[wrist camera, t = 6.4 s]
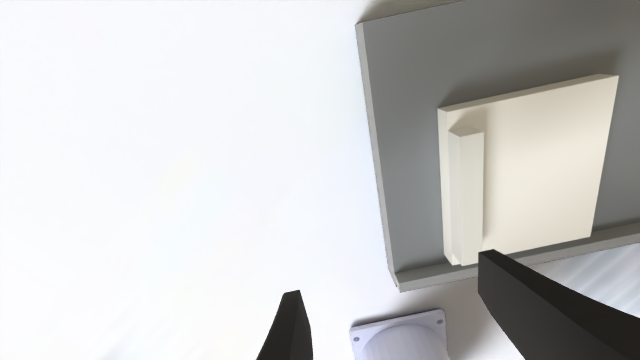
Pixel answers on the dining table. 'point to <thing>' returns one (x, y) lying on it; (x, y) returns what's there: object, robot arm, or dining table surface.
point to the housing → (481, 82)
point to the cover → (523, 166)
